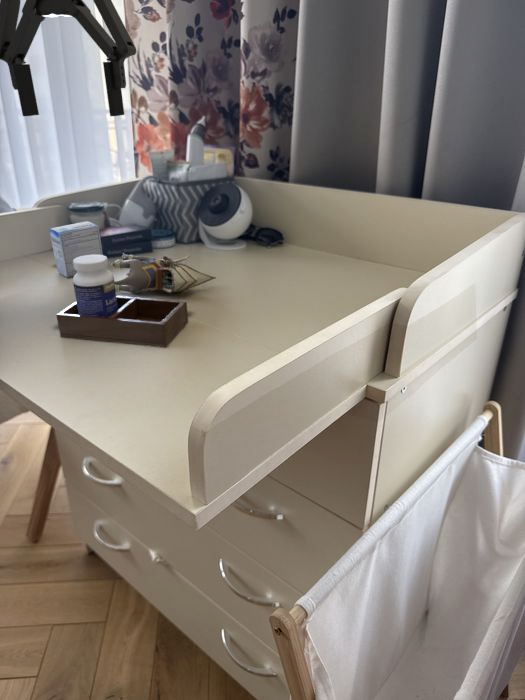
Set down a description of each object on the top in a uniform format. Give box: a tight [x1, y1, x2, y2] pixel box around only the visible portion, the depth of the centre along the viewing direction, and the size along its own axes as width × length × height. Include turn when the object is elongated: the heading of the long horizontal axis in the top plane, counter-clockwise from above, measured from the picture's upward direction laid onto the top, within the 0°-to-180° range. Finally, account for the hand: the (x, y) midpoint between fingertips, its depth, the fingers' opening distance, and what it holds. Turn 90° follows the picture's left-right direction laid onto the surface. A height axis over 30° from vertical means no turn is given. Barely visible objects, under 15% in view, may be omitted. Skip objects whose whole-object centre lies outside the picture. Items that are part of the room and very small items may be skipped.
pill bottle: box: [72, 254, 118, 318], centre depth 79 cm, size 6×6×10 cm
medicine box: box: [49, 221, 104, 278], centre depth 103 cm, size 8×4×9 cm, turn 133°
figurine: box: [111, 252, 217, 294], centre depth 94 cm, size 20×6×17 cm
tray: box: [55, 295, 189, 348], centre depth 80 cm, size 9×16×4 cm, turn 76°
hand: (73, 115), depth 76 cm, fingers open, 13 cm apart
